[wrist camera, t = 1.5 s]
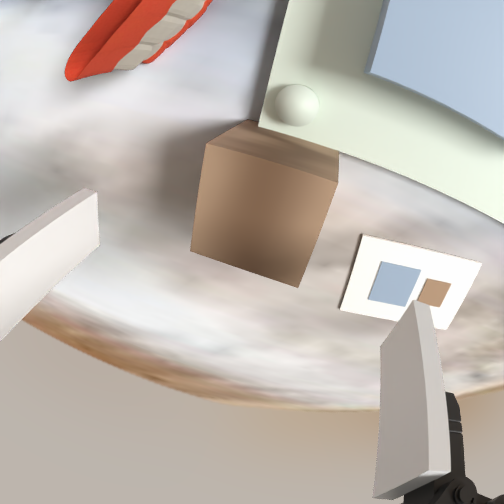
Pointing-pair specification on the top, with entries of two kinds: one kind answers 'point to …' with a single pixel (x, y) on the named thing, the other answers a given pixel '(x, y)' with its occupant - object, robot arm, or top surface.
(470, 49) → the base brick
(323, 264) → the top surface
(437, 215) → the top surface
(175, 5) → the toy
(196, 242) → the walnut block
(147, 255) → the top surface
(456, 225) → the top surface
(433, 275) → the page
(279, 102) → the build plate
